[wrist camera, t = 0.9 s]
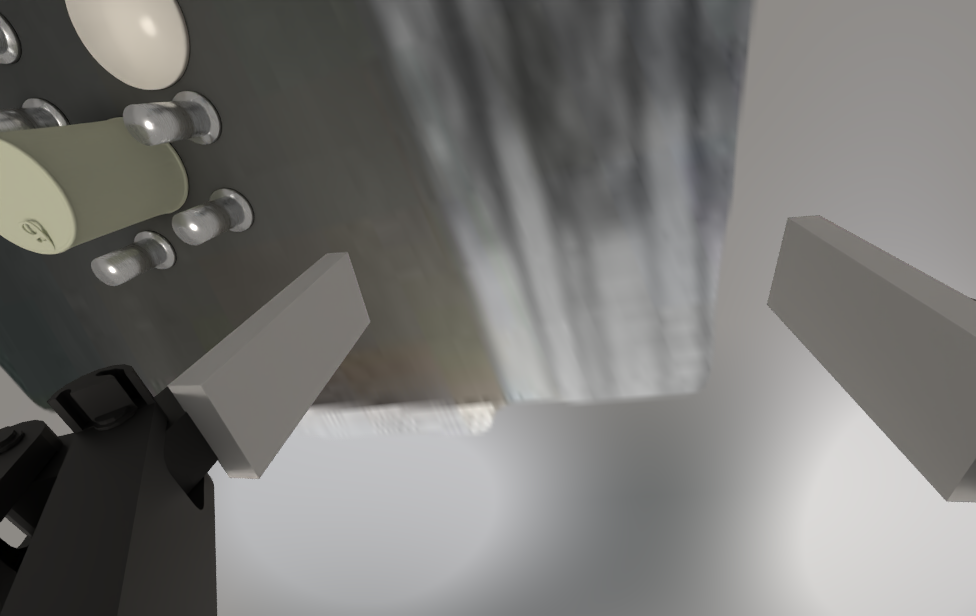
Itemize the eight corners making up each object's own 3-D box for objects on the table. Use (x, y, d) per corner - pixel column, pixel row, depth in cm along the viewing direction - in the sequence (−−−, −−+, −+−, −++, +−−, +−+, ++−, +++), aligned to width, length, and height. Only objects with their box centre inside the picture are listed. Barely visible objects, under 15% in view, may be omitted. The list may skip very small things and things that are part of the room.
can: (136, 219, 44) (9, 265, 33) (78, 128, 39) (-89, 148, 29) (206, 204, 42) (93, 248, 31) (152, 106, 37) (1, 120, 27)
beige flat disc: (46, -15, 33) (38, -16, 33) (121, -87, 30) (114, -90, 30) (138, 109, 38) (133, 109, 37) (213, 56, 34) (208, 56, 34)
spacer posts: (-52, 31, 36) (-151, 24, 31) (75, -100, 30) (-22, -135, 25) (158, 272, 47) (110, 297, 42) (284, 210, 41) (245, 230, 36)
